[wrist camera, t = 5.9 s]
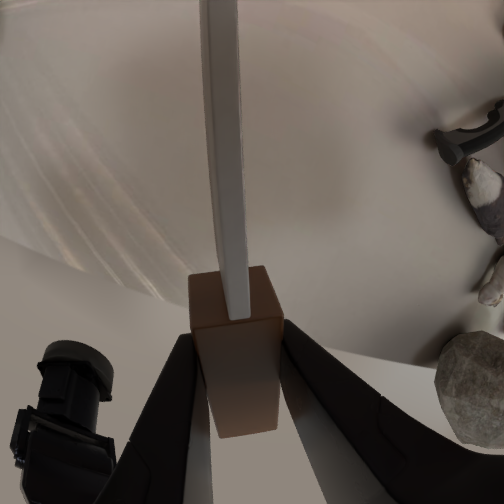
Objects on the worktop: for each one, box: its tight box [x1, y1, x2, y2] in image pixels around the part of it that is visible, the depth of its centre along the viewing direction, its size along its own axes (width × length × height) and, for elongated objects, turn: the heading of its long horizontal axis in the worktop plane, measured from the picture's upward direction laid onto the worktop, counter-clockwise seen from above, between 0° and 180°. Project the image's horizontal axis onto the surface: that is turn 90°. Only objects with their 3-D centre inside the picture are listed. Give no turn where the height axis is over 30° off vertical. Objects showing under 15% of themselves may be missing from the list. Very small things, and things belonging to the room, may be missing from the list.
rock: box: [434, 331, 504, 449], centre depth 26 cm, size 15×18×15 cm
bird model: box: [462, 158, 504, 246], centre depth 21 cm, size 4×17×5 cm, turn 59°
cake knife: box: [188, 0, 284, 438], centre depth 6 cm, size 14×2×2 cm, turn 2°
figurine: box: [478, 255, 504, 307], centre depth 25 cm, size 4×16×15 cm
